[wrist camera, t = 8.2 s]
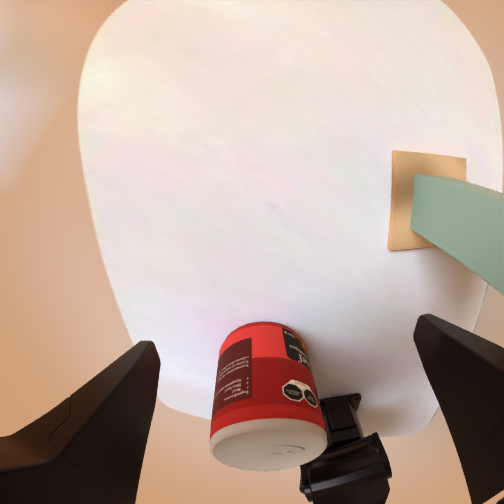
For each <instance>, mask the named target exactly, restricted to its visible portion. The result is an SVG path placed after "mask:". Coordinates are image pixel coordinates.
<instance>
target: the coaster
mask: <svg viewBox="0 0 504 504" xmlns="http://www.w3.org/2000/svg"><path fill="white" fill-rule="evenodd" d="M414 174H422V175H433V176H442V177H450V178H456V179H459V180H463V181H465V179H466V159H464V158H458V157H451V156H444V155H436V154H427V153H418V152H407V151H394V150H392V194H391V214H390V228H389V239H388V249H390V250H402V249H413V248H424V247H435V246H436V245H435V244H433V243H432V242H430V241H429V240H427V239H426V238H424V237H422V236H421V235H419V234H418V233H416V232H415V231H413V230H411V229H410V224H411V215H412V204H413V191H414Z"/></svg>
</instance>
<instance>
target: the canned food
mask: <svg viewBox="0 0 504 504" xmlns="http://www.w3.org/2000/svg"><path fill="white" fill-rule="evenodd" d="M326 448H327V434H326V430H325V424H324V420H323V416H322V411H321V407H320V403H319V399H318V395H317V391H316V387H315V383H314V379H313V375H312V371H311V367H310V363H309V360H308V356H307V352H306V348H305V345H304V343H303V342H302V340H301V339H300V337H299V336H298V335H297V334H296V333H295V332H294V331H293V330H291V329H290V328H288V327H286V326H284V325H281V324H278V323H273V322H254V323H250V324H246V325H243V326H241V327H239V328H237V329H236V330H234V331H232V332H231V333H230V334H229V335H228V336H227V338H226V340H225V341H224V343H223V344H222V346H221V349H220V352H219V360H218V368H217V377H216V385H215V394H214V402H213V411H212V420H211V433H210V452H211V454H212V456H213V457H214V458H215V459H216V460H218V461H220V462H221V463H223V464H226V465H228V466H230V467H234V468H238V469H242V470H248V471H278V470H284V469H289V468H293V467H297V466H300V465H303V464H305V463H308V462H310V461H312V460H314V459H315V458H317V457H318V456H320V455H321V454H322V453H323V452H324V451H325V449H326Z"/></svg>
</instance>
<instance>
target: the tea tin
mask: <svg viewBox="0 0 504 504" xmlns="http://www.w3.org/2000/svg"><path fill="white" fill-rule="evenodd" d="M410 229H411V230H413V231H415V232H416V233H418V234H419V235H421V236H422V237H424V238H426V239H427V240H429V241H430V242H432V243H433V244H435V245H436V246H438V247H439V248H441V249H442V250H444V251H445V252H446V253H448V254H449V255H451V256H452V257H454V258H455V259H456V260H458V261H459V262H461V263H462V264H463V265H465V266H466V267H468V268H469V269H470V270H472V271H473V272H474V273H476V274H477V275H478V276H480V277H481V278H482V279H483V280H485V281H486V282H487V283H489V284H490V285H491V286H493V287H494V288H495V289H496V290H497V291H499V292H500V293H501V294H502V295H503V296H504V194H503V193H500V192H497V191H494V190H491V189H488V188H485V187H482V186H479V185H476V184H473V183H469V182H466V181H463V180H459V179H456V178H450V177H442V176H433V175H422V174H414V191H413V204H412V215H411V224H410Z"/></svg>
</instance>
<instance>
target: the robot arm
mask: <svg viewBox="0 0 504 504" xmlns="http://www.w3.org/2000/svg"><path fill="white" fill-rule="evenodd" d="M413 338H414V342H415V345H416V348H417V350H418V353H419V356H420V359H421V361H422V364H423V367H424V370H425V373H426V375H427V378H428V380H429V382H430V384H431V387H432V389H433V391H434V393H435V396H436V398H437V400H438V403H439V405H440V407H441V410H442V412H443V415H444V417H445V419H446V422H447V425H448V428H449V430H450V433H451V436H452V438H453V441H454V444H455V447H456V450H457V453H458V456H459V459H460V462H461V464H462V465H461V466H462V469H463V472H464V475H465V479H466V483H467V486H468V490H469V494H470V498H471V502H472V504H483V503H484V502H486V501H488V500H489V499H491V498H492V497H494V496H495V495H497V494H498V493H500V492H501V491H503V490H504V348H503V347H501V346H499V345H497V344H495V343H492V342H490V341H488V340H486V339H484V338H482V337H480V336H477V335H475V334H473V333H471V332H469V331H467V330H465V329H462V328H460V327H458V326H456V325H454V324H451V323H449V322H447V321H445V320H443V319H440V318H438V317H436V316H434V315H432V314H424V315H421V316H419V318H418V320H417V324H416V327H415V331H414V334H413ZM159 372H160V358H159V355H158V353H157V350H156V347H155V344H154V343H153V342H152V341H140V342H139V343H137V344H136V345H135V346H133V347H132V348H131V349H130V350H128V351H127V352H126V353H125V354H123V355H122V356H121V357H119V358H118V359H117V360H115V361H114V362H113V363H112V364H110V365H109V366H108V367H106V368H105V369H104V370H103V371H101V372H100V373H99V374H97V375H96V376H95V377H94V378H92V379H91V380H90V381H88V382H87V383H86V384H85V385H83V386H82V387H81V388H79V389H78V390H77V391H76V392H74V393H73V394H72V395H71V396H70V397H68V398H66V399H65V400H64V401H63V402H61V403H60V404H59V405H57V406H56V407H55V408H53V409H52V410H50V411H49V412H48V413H46V414H44V415H43V416H41V417H40V418H38V419H37V420H35V421H34V422H32V423H30V424H29V425H27V426H26V427H24V428H22V429H21V430H19V431H17V432H16V433H14V434H12V435H10V436H5V437H0V504H135V501H136V495H137V490H138V484H139V479H140V473H141V468H142V463H143V458H144V453H145V448H146V444H147V439H148V434H149V430H150V426H151V421H152V416H153V413H154V408H155V402H156V397H157V388H158V380H159ZM360 400H361V395H360V394H354V395H348V396H343V397H337V398H332V399H325V400H319V403H320V407H321V411H322V416H323V420H324V424H325V430H326V434H327V448H326V449H325V451H324V452H323V453H322V454H321V455H320V456H318V457H317V458H315V459H314V460H312V461H310V462H308V463H305V464H303V465H300V467H301V480H300V491H301V492H302V493H303V494H305V496H306V497H307V500H308V501H309V502H313V504H385V502H386V499H387V497H388V494H389V491H390V487H389V484H388V480H387V479H389V478H391V477H392V472H391V467H390V463H389V460H388V457H387V454H386V452H385V450H384V447H383V445H382V443H381V440H380V438H379V436H378V433H377V432H375V433H373V434H372V435H369V436H366V437H364V435H363V432H362V429H361V426H360V423H359V420H358V417H357V414H356V412H357V409H358V406H359V403H360ZM497 504H504V497H503V498H502V499H500V500H499V501H498V502H497Z"/></svg>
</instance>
